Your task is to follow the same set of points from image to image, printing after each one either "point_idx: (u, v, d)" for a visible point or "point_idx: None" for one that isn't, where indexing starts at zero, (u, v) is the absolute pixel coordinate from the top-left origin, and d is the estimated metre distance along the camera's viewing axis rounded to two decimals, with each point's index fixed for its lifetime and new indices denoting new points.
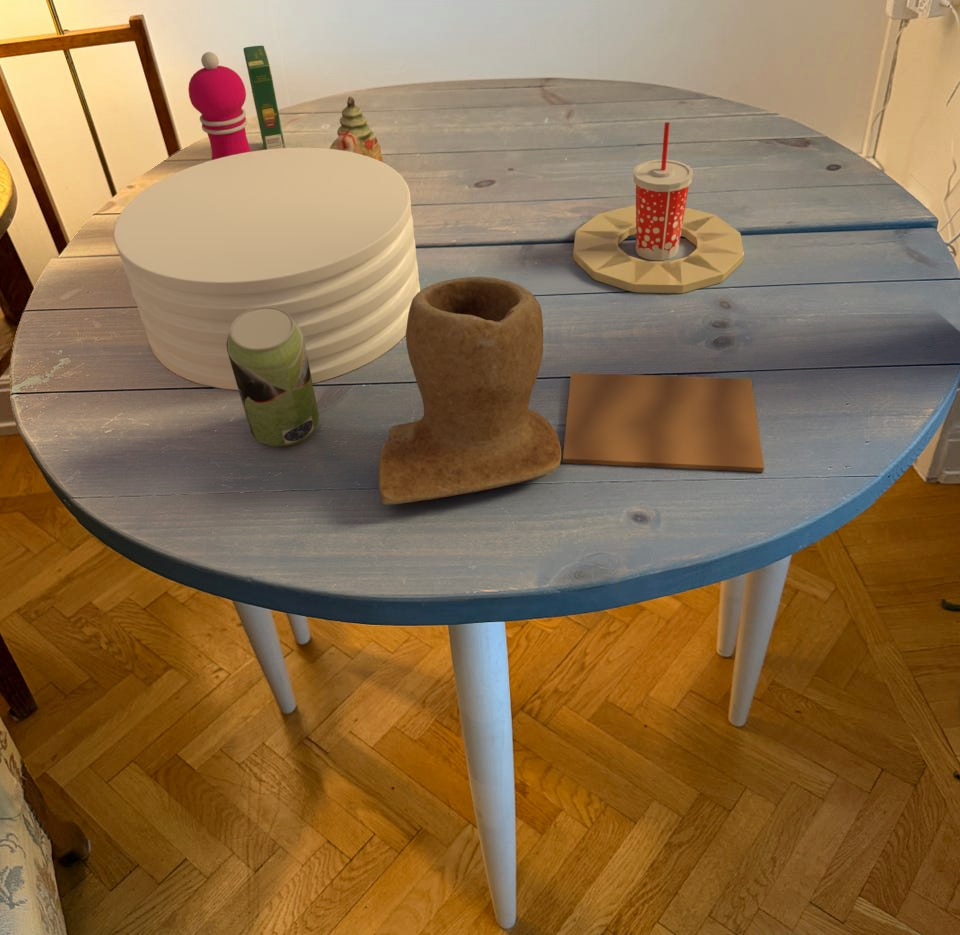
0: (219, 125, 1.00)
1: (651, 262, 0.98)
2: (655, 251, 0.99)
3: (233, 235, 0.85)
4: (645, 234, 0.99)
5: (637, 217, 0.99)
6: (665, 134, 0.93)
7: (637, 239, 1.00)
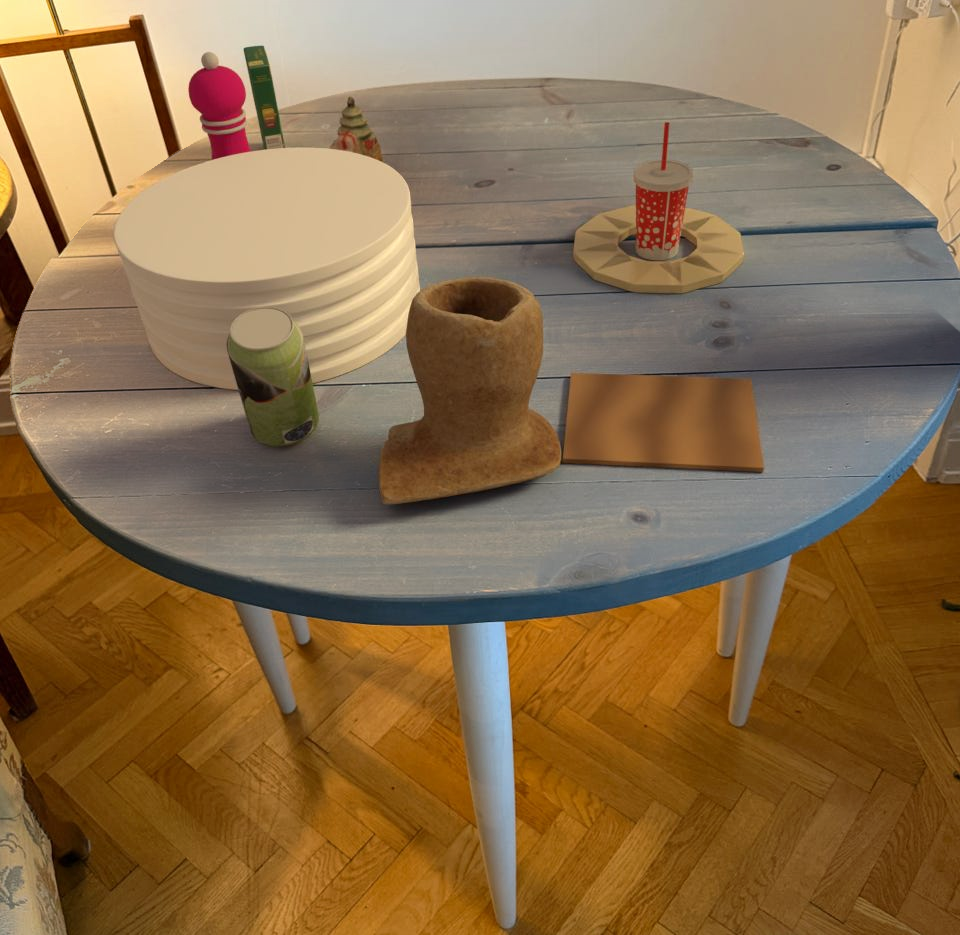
0: (219, 125, 1.00)
1: (651, 262, 0.98)
2: (655, 251, 0.99)
3: (233, 235, 0.85)
4: (645, 234, 0.99)
5: (637, 217, 0.99)
6: (665, 134, 0.93)
7: (637, 239, 1.00)
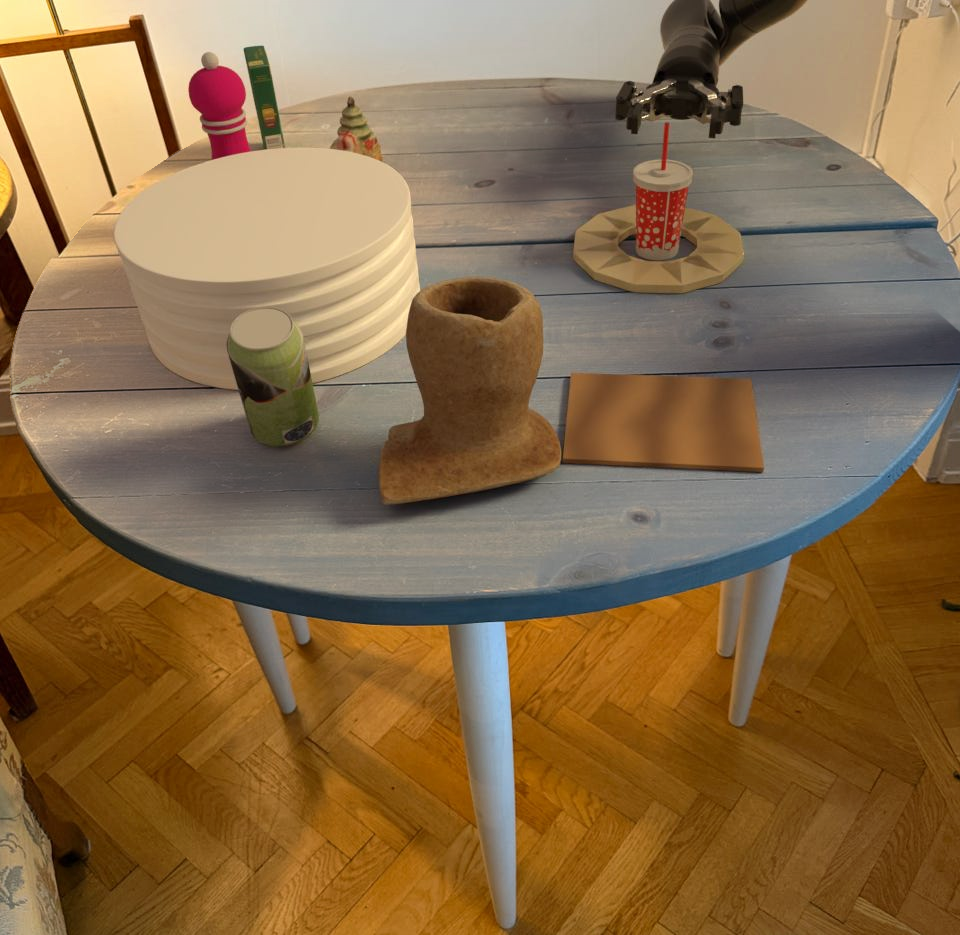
0: (219, 125, 1.00)
1: (651, 262, 0.98)
2: (655, 251, 0.99)
3: (233, 235, 0.85)
4: (645, 234, 0.99)
5: (637, 217, 0.99)
6: (665, 134, 0.93)
7: (637, 239, 1.00)
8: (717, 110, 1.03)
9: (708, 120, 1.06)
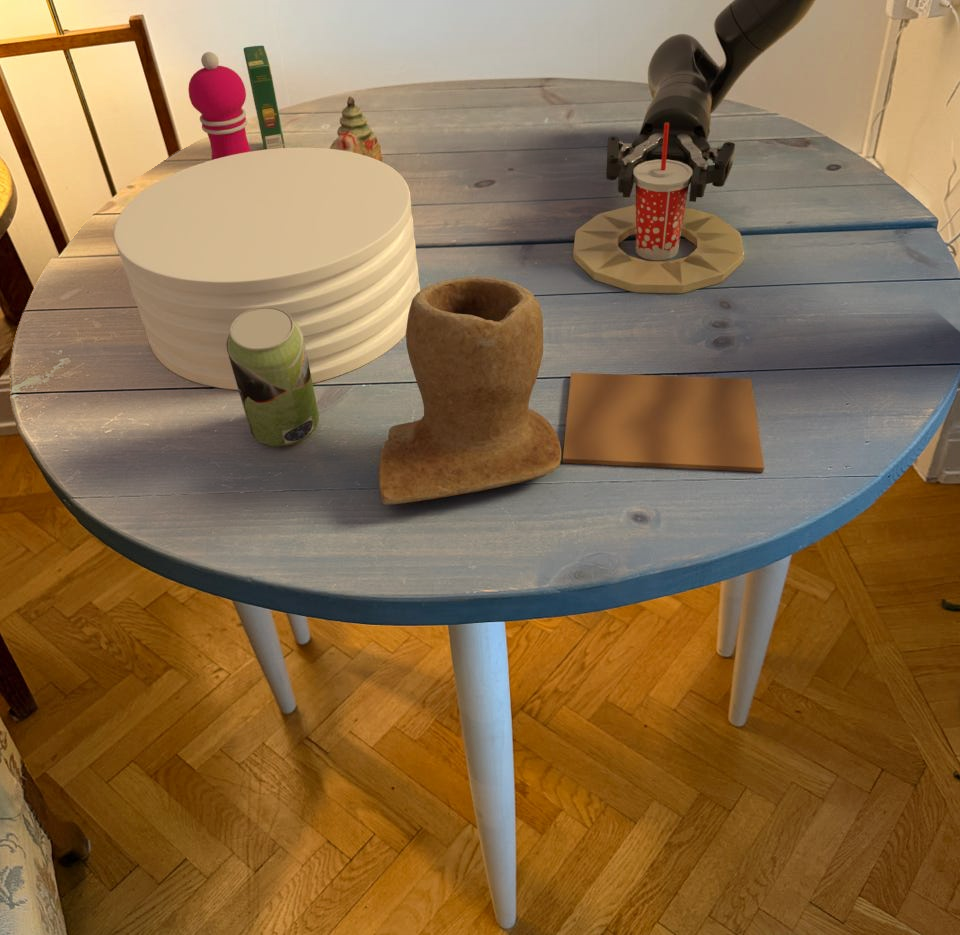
0: (219, 125, 1.00)
1: (651, 262, 0.98)
2: (655, 251, 0.99)
3: (233, 235, 0.85)
4: (645, 234, 0.99)
5: (637, 217, 0.99)
6: (665, 134, 0.93)
7: (637, 239, 1.00)
8: (698, 171, 0.95)
9: None
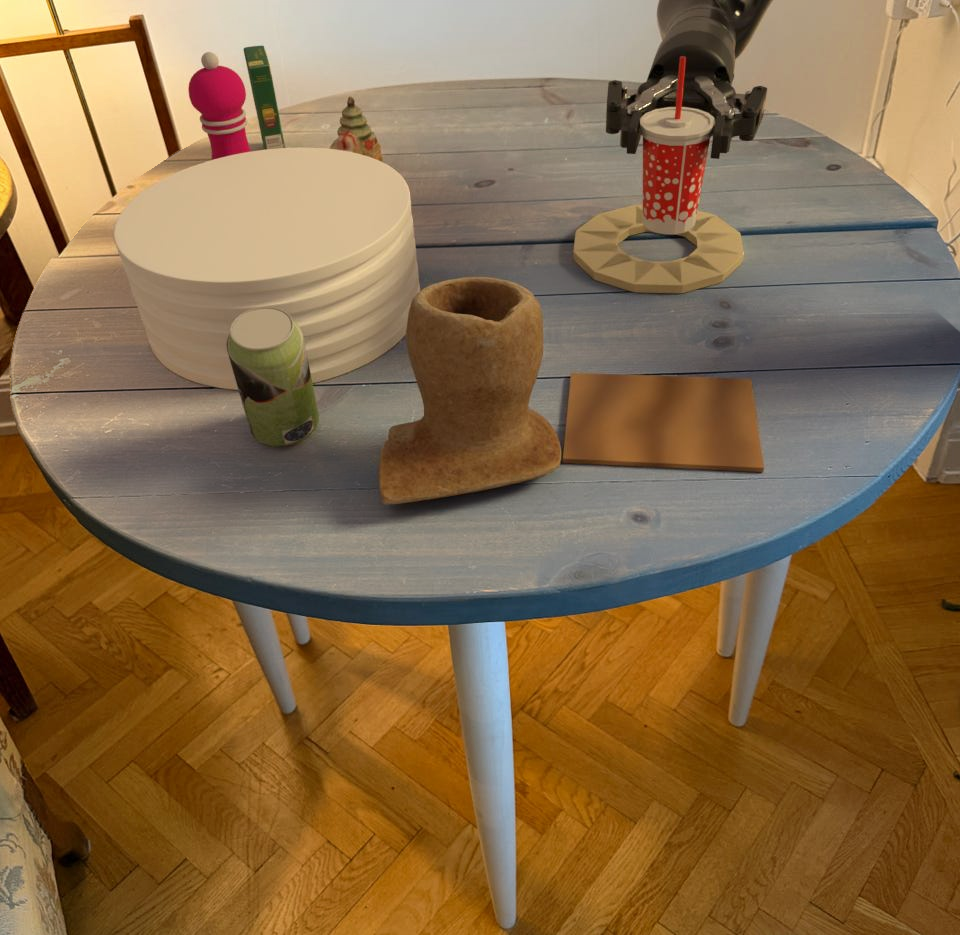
0: (219, 125, 1.00)
1: (651, 262, 0.98)
2: (667, 223, 0.79)
3: (233, 235, 0.85)
4: (654, 201, 0.79)
5: (644, 180, 0.79)
6: (680, 71, 0.73)
7: (644, 208, 0.80)
8: (722, 120, 0.75)
9: None
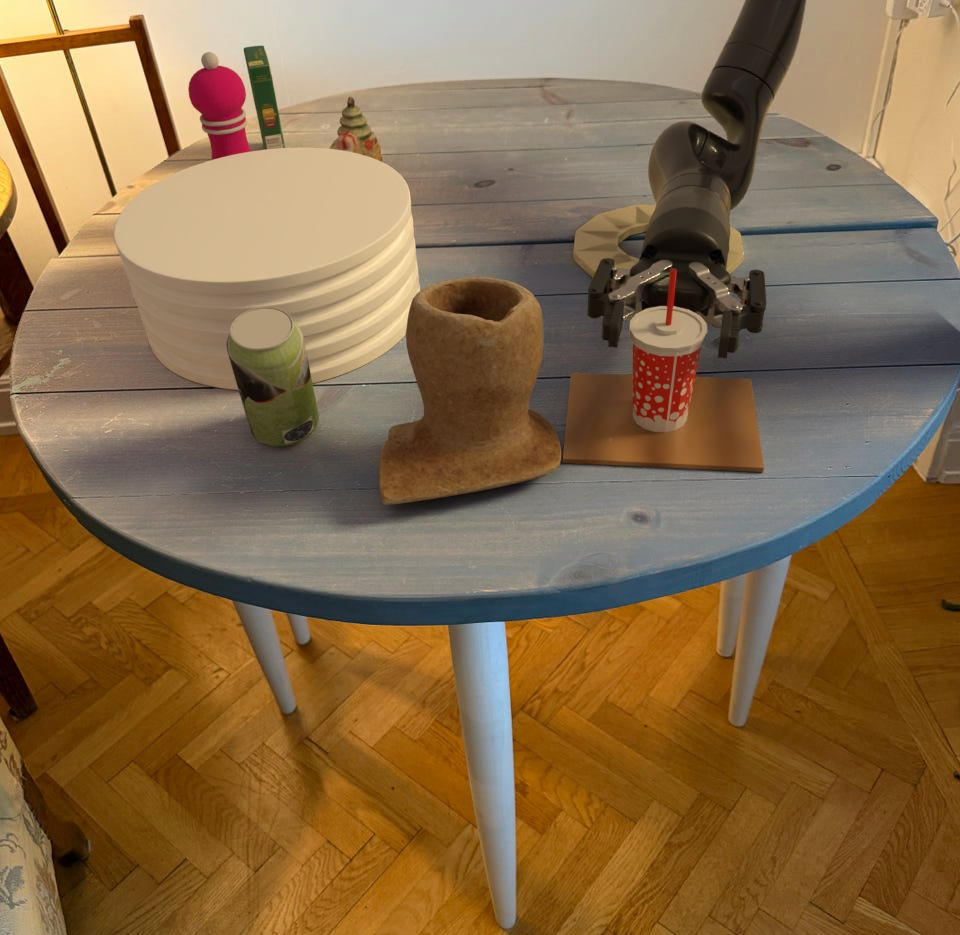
0: (219, 125, 1.00)
1: None
2: (657, 422, 0.77)
3: (233, 235, 0.85)
4: (645, 402, 0.76)
5: (634, 380, 0.76)
6: (671, 283, 0.71)
7: (634, 404, 0.78)
8: (730, 318, 0.72)
9: (717, 323, 0.76)
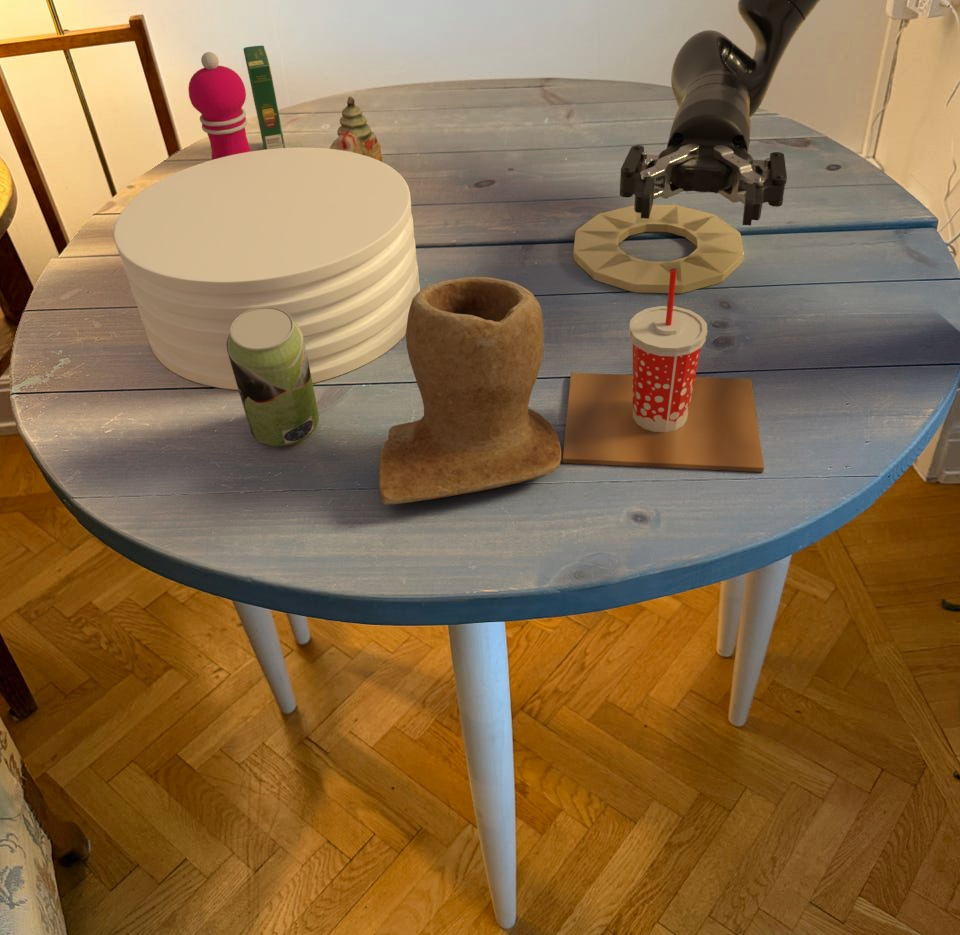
0: (219, 125, 1.00)
1: (651, 262, 0.98)
2: (657, 422, 0.77)
3: (233, 235, 0.85)
4: (645, 402, 0.76)
5: (634, 380, 0.76)
6: (671, 283, 0.71)
7: (634, 404, 0.78)
8: (753, 188, 0.79)
9: (740, 199, 0.82)
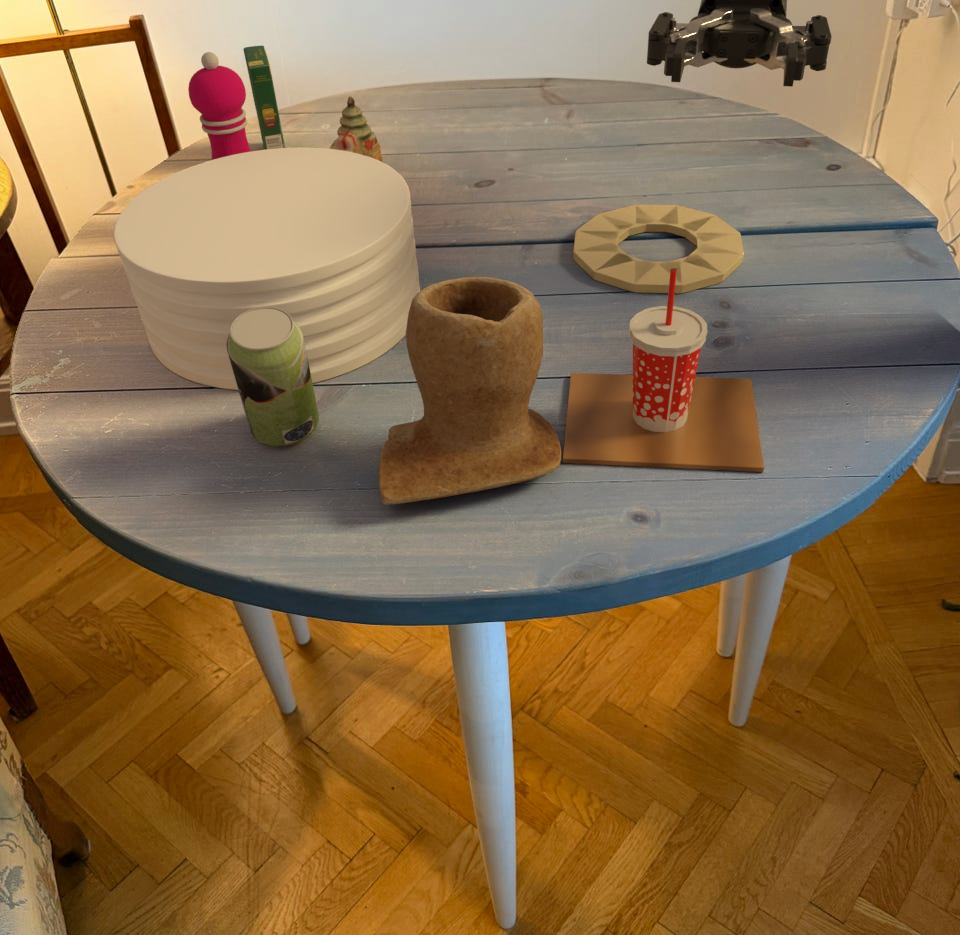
0: (219, 125, 1.00)
1: (651, 262, 0.98)
2: (657, 422, 0.77)
3: (233, 235, 0.85)
4: (645, 402, 0.76)
5: (634, 380, 0.76)
6: (671, 283, 0.71)
7: (634, 404, 0.78)
8: (795, 47, 0.72)
9: (779, 63, 0.75)
